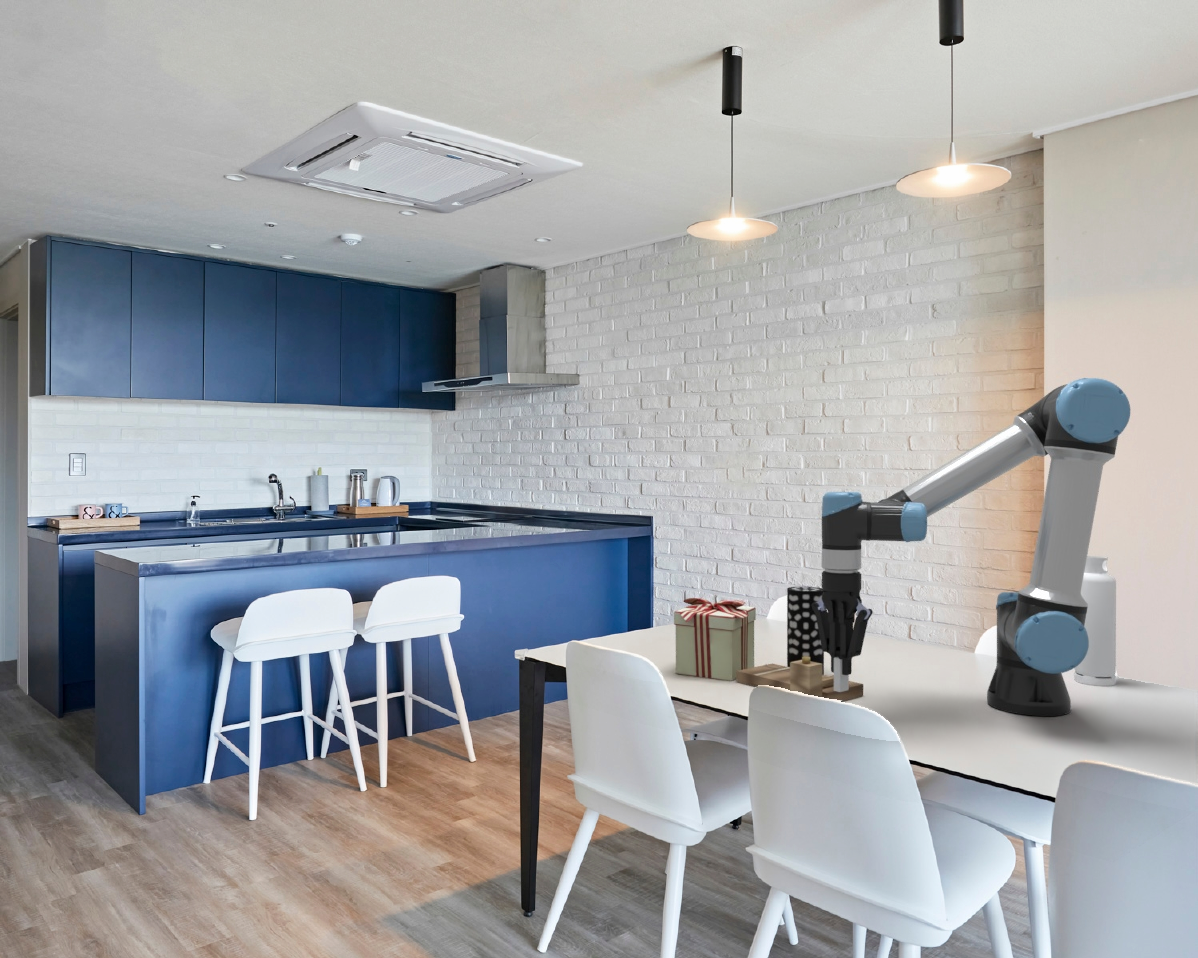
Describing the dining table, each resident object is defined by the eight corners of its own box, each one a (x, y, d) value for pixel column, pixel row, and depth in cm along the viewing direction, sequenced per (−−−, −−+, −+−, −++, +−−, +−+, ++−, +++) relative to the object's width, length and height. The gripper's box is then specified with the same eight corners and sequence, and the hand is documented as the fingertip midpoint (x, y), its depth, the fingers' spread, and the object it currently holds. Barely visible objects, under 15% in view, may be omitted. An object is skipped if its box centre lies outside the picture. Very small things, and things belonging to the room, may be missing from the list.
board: (863, 695, 187) (863, 683, 187) (827, 705, 180) (827, 692, 180) (772, 674, 207) (772, 663, 207) (736, 681, 200) (736, 670, 200)
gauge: (850, 695, 186) (850, 651, 186) (809, 706, 178) (809, 660, 178) (831, 690, 190) (831, 648, 190) (790, 701, 182) (790, 656, 182)
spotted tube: (824, 679, 201) (824, 591, 201) (787, 678, 203) (787, 590, 203) (823, 671, 210) (823, 587, 209) (787, 669, 211) (787, 586, 211)
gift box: (667, 677, 204) (667, 603, 204) (694, 661, 221) (694, 592, 220) (740, 685, 197) (739, 607, 196) (761, 668, 213) (761, 596, 213)
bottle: (1081, 675, 205) (1081, 554, 205) (1120, 681, 199) (1121, 556, 199) (1069, 681, 199) (1069, 557, 199) (1109, 687, 193) (1109, 559, 193)
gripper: (881, 572, 171) (881, 693, 172) (826, 566, 181) (826, 681, 182) (857, 574, 167) (857, 700, 167) (802, 568, 177) (802, 686, 177)
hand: (841, 690), depth 174 cm, fingers closed
